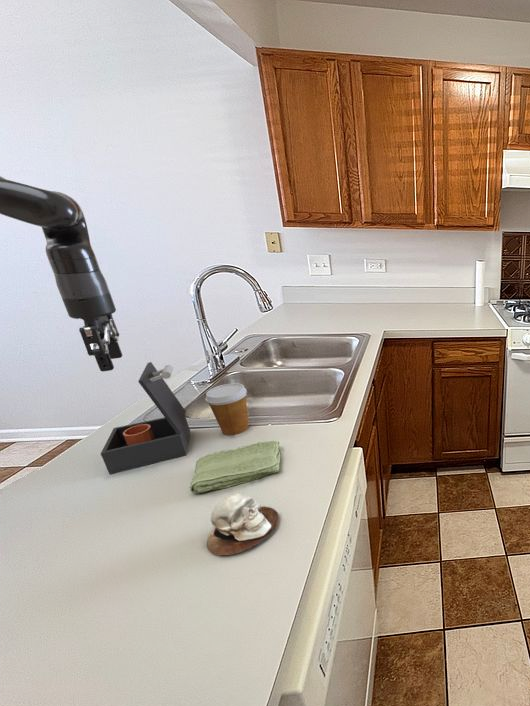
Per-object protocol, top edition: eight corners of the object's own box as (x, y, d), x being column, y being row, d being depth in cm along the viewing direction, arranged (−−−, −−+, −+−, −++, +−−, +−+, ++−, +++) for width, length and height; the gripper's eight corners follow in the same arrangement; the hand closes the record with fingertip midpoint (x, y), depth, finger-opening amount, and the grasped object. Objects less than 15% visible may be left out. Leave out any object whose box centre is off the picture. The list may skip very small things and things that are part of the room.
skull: (296, 508, 79) (260, 502, 70) (271, 564, 75) (230, 565, 66) (250, 493, 83) (211, 484, 74) (224, 545, 79) (179, 543, 70)
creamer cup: (126, 458, 95) (118, 437, 93) (137, 446, 100) (129, 425, 98) (151, 454, 96) (144, 433, 94) (161, 443, 101) (154, 422, 99)
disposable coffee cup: (229, 420, 113) (219, 382, 109) (262, 420, 113) (253, 382, 109) (207, 438, 105) (194, 398, 100) (242, 439, 104) (231, 398, 100)
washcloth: (282, 474, 91) (280, 462, 90) (190, 499, 83) (186, 486, 82) (280, 445, 102) (277, 434, 100) (198, 465, 94) (194, 453, 93)
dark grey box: (109, 474, 91) (100, 453, 89) (121, 447, 101) (113, 427, 99) (186, 455, 98) (179, 435, 95) (190, 431, 108) (184, 413, 106)
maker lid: (137, 381, 88) (163, 372, 90) (147, 363, 98) (170, 354, 100) (177, 434, 95) (200, 424, 97) (182, 412, 105) (202, 403, 107)
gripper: (72, 289, 87) (99, 357, 94) (49, 302, 76) (80, 378, 82) (116, 285, 91) (139, 351, 97) (100, 297, 80) (127, 371, 86)
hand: (112, 363), depth 90 cm, fingers open, 8 cm apart
